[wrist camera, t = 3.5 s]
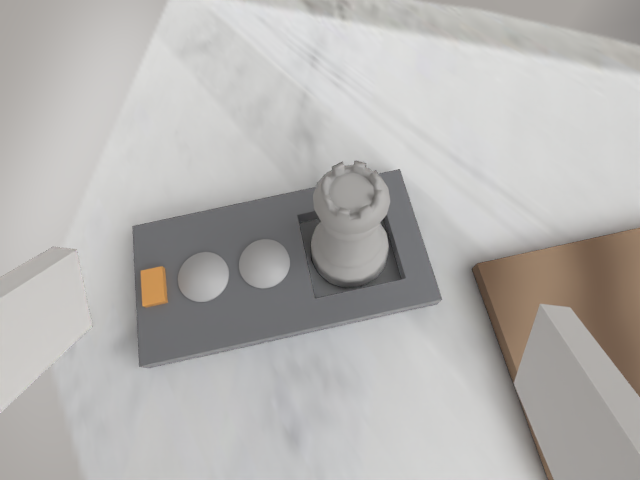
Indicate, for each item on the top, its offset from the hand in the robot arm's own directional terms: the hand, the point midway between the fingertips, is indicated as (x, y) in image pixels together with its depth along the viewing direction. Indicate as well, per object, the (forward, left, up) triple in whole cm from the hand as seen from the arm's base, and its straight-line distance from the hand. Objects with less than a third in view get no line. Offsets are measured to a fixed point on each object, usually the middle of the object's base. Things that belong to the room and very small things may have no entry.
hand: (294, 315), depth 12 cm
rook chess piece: (-3, -5, -11) cm, 13 cm away
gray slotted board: (+1, -5, -11) cm, 12 cm away
